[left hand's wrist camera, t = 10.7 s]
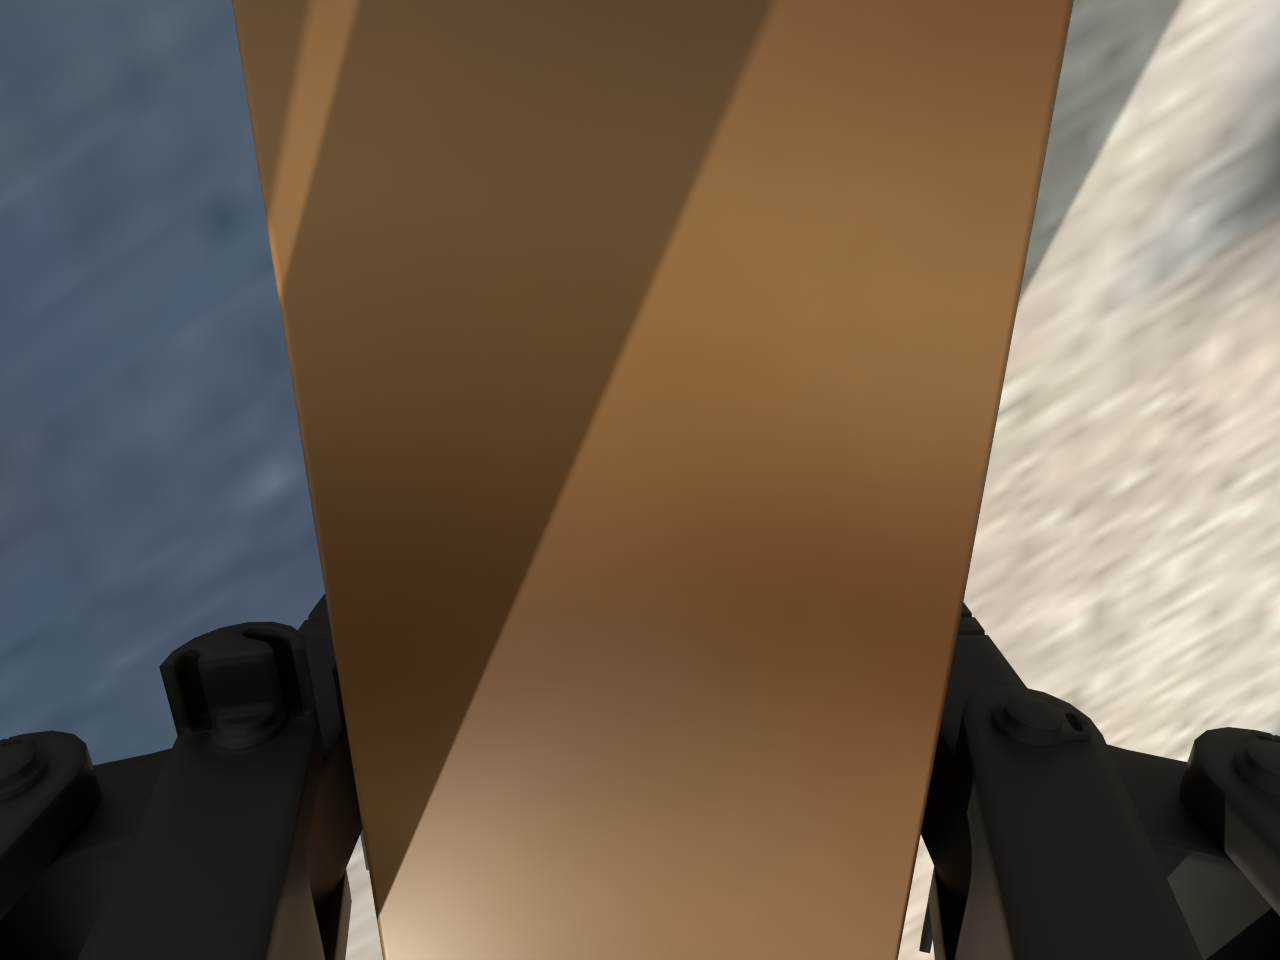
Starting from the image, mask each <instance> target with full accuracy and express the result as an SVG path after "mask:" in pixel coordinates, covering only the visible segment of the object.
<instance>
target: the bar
mask: <svg viewBox="0 0 1280 960" xmlns="http://www.w3.org/2000/svg"><path fill="white" fill-rule="evenodd" d="M1073 1H1074V0H232V6H233V12H234V18H235V25H236V31H237V37H238V44H239V50H240V56H241V63H242V69H243V75H244V81H245V88H246V94H247V100H248V107H249V113H250V119H251V126H252V132H253V138H254V145H255V151H256V157H257V164H258V170H259V176H260V183H261V189H262V195H263V202H264V208H265V214H266V221H267V227H268V233H269V240H270V246H271V252H272V259H273V265H274V271H275V278H276V284H277V290H278V297H279V303H280V309H281V316H282V322H283V328H284V335H285V341H286V347H287V354H288V360H289V366H290V373H291V379H292V385H293V392H294V398H295V404H296V411H297V417H298V423H299V429H300V436H301V442H302V448H303V455H304V461H305V467H306V474H307V480H308V486H309V493H310V499H311V505H312V512H313V518H314V524H315V531H316V537H317V543H318V550H319V556H320V562H321V569H322V575H323V581H324V588H325V594H326V600H327V607H328V613H329V619H330V626H331V632H332V638H333V645H334V651H335V657H336V664H337V670H338V676H339V683H340V689H341V695H342V702H343V708H344V714H345V721H346V727H347V733H348V740H349V746H350V752H351V759H352V765H353V771H354V777H355V784H356V790H357V796H358V803H359V809H360V815H361V822H362V828H363V834H364V841H365V847H366V853H367V860H368V866H369V872H370V879H371V885H372V891H373V898H374V904H375V910H376V917H377V923H378V929H379V936H380V942H381V948H382V955H383V960H898V955H899V949H900V944H901V938H902V933H903V928H904V922H905V917H906V911H907V906H908V900H909V895H910V889H911V884H912V878H913V873H914V868H915V862H916V857H917V851H918V846H919V840H920V835H921V829H922V824H923V819H924V813H925V808H926V802H927V797H928V791H929V786H930V780H931V775H932V769H933V764H934V759H935V753H936V748H937V742H938V737H939V731H940V726H941V720H942V715H943V710H944V704H945V699H946V693H947V688H948V682H949V677H950V671H951V666H952V660H953V655H954V650H955V644H956V639H957V633H958V628H959V622H960V617H961V611H962V606H963V601H964V595H965V590H966V584H967V579H968V573H969V568H970V562H971V557H972V551H973V546H974V541H975V535H976V530H977V524H978V519H979V513H980V508H981V502H982V497H983V491H984V486H985V481H986V475H987V470H988V464H989V459H990V453H991V448H992V442H993V437H994V432H995V426H996V421H997V415H998V410H999V404H1000V399H1001V393H1002V388H1003V382H1004V377H1005V372H1006V366H1007V361H1008V355H1009V350H1010V344H1011V339H1012V333H1013V328H1014V323H1015V317H1016V312H1017V306H1018V301H1019V295H1020V290H1021V284H1022V279H1023V273H1024V268H1025V263H1026V257H1027V252H1028V246H1029V241H1030V235H1031V230H1032V224H1033V219H1034V214H1035V208H1036V203H1037V197H1038V192H1039V186H1040V181H1041V175H1042V170H1043V164H1044V159H1045V154H1046V148H1047V143H1048V137H1049V132H1050V126H1051V121H1052V115H1053V110H1054V105H1055V99H1056V94H1057V88H1058V83H1059V77H1060V72H1061V66H1062V61H1063V55H1064V50H1065V45H1066V39H1067V34H1068V28H1069V23H1070V17H1071V12H1072V6H1073Z"/></svg>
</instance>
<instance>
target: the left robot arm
mask: <svg viewBox="0 0 1280 960" xmlns="http://www.w3.org/2000/svg"><path fill="white" fill-rule="evenodd" d="M160 671H161V675H162V679H163V682H164V686H165V690H166V694H167V697H168V701H169V705H170V709H171V712H172V716H173V720H174V724H175V727H176V731H177V735H178V737H177V739H176V741H175V743H174V745H173V748H171V749H167V750H163V751H160V752H156V753H152V754H147V755H142V756H137V757H133V758H128V759H123V760H118V761H114V762H109V763H104V764H99V765H94V766H93V765H92V761H91V758H90V755H89V752H88V749H87V746H86V743H84V742H83V741H82V740H81V739H79V738H78V737H77V736H76V735H74V734H70V733H64V732H57V731H46V732H37V733H28V734H22V735H18V736H13V737H9V739H6V740H5V739H3V740H0V960H345V956H346V947H347V938H348V929H349V920H350V911H351V902H352V901H351V894H350V887H349V881H348V876H347V870H346V867H347V865H348V862H349V860H350V857H351V855H352V853H353V850H354V848H355V845H356V843H357V841H358V838H359V836H360V835H361V841H362V847H363V852H364V858H365V864H366V870H369V866H368V860H367V853H366V847H365V841H364V834H363V828H362V822H361V815H360V809H359V803H358V796H357V790H356V784H355V777H354V771H353V765H352V759H351V752H350V746H349V740H348V733H347V727H346V721H345V714H344V708H343V702H342V695H341V689H340V683H339V676H338V670H337V664H336V657H335V651H334V645H333V638H332V632H331V626H330V619H329V613H328V607H327V600H326V594H324V595H323V597H322V598H321V599H320V601H319V602H318V603H317V605H316V606H315V608H314V609H313V610H312V612H311V613H310V614H309V616H308V620H305V621H304V623H303V624H302V625H301V627H300V628H299V629H298V631H297V630H296V629H295V628H293V627H292V626H288V625H284V624H280V623H275V622H247V623H242V624H237V625H232V626H228V627H223V628H219V629H217V630H214V631H211V632H209V633H206V634H204V635H201V636H198V637H196V638H194V639H192V640H190V641H189V642H187V643H186V644H184V645H182V646H181V647H179V648H178V649H176V650H174V651H173V652H172V653H171V654H170V655H169V656H168V657H167V659H166V660H165V661H164V662H163V663H162V664H161V665H160ZM921 835H922V838H923V840H924V842H925V845H926V847H927V850H928V852H929V854H930V857H931V859H932V862H933V864H934V870H933V876H932V881H931V887H930V892H929V897H928V903H927V908H926V914H925V919H924V925H923V930H922V936H921V943H920V950H919V951H922V952H926V953H930V950H931V945H932V940H933V945H934V954H935V960H1280V736H1277V735H1275V736H1274V735H1272V734H1270V733H1266V732H1261V731H1257V730H1249V729H1240V728H1232V727H1226V728H1219V729H1213V730H1207V731H1205V732H1204V733H1203V734H1202V735H1200V736H1199V737H1198V738H1197V739H1195V741H1194V744H1193V747H1192V750H1191V753H1190V756H1189V759H1188V762H1183V761H1178V760H1174V759H1169V758H1164V757H1159V756H1154V755H1150V754H1145V753H1140V752H1135V751H1130V750H1126V749H1122V748H1118V747H1115V746H1111V745H1107V744H1106V742H1105V740H1104V737H1103V735H1102V734H1101V732H1100V731H1099V730H1098V728H1097V727H1096V726H1095V724H1094V723H1093V722H1092V720H1091V719H1090V718H1089V717H1087V716H1086V715H1085V714H1083V713H1082V712H1081V711H1079V710H1078V709H1076V708H1075V707H1074V706H1072V705H1071V704H1070V703H1067V702H1065V701H1063V700H1060V699H1058V698H1056V697H1054V696H1051V695H1049V694H1047V693H1045V692H1041V691H1036V690H1032V689H1028V688H1027V687H1026V686H1025V684H1024V683H1023V682H1022V680H1021V679H1020V678H1019V676H1018V675H1017V674H1016V672H1015V671H1014V670H1013V668H1012V667H1011V666H1010V664H1009V663H1008V661H1007V660H1006V659H1005V657H1004V656H1003V655H1002V653H1001V652H1000V651H999V649H998V648H997V647H996V645H995V644H994V643H993V641H992V640H991V639H990V637H989V636H988V635H985V630H984V629H983V628H982V626H981V625H980V624H979V622H978V621H977V620H976V618H975V617H972V613H971V612H970V610H969V609H968V607H967V606H966V605H965V603H964V602H963V606H962V611H961V617H960V622H959V628H958V633H957V639H956V644H955V650H954V655H953V660H952V666H951V671H950V677H949V682H948V688H947V693H946V699H945V704H944V710H943V715H942V720H941V726H940V731H939V737H938V742H937V748H936V753H935V759H934V764H933V769H932V775H931V780H930V786H929V791H928V797H927V802H926V808H925V813H924V819H923V824H922V829H921Z"/></svg>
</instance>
